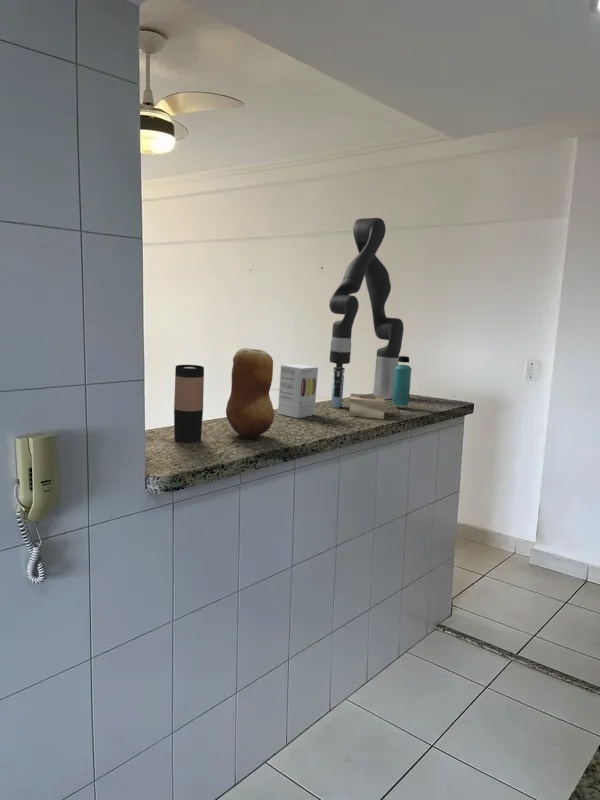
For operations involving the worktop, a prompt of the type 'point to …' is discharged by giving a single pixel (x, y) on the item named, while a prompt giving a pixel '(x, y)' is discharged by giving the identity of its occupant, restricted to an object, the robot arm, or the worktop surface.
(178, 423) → the travel mug
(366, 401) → the socket block
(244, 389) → the butternut squash
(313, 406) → the supplement box
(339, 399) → the peg
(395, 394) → the beverage bottle
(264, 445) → the worktop surface
